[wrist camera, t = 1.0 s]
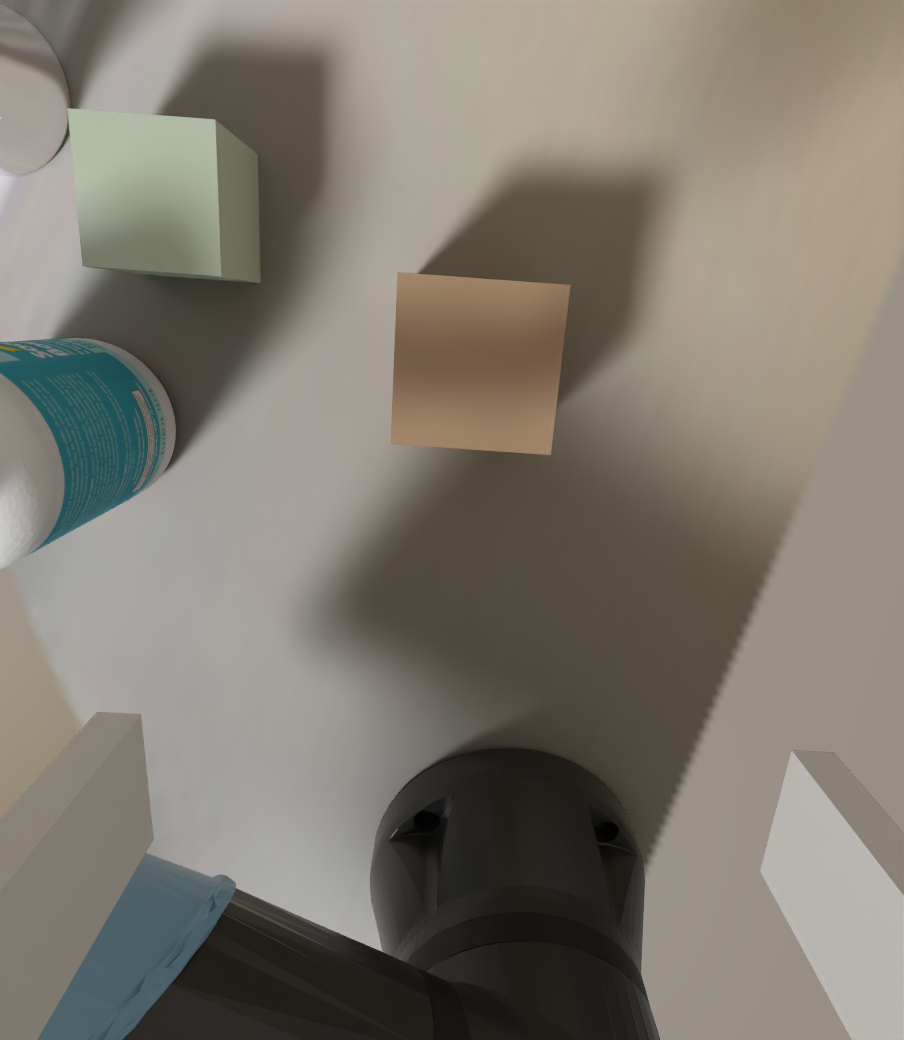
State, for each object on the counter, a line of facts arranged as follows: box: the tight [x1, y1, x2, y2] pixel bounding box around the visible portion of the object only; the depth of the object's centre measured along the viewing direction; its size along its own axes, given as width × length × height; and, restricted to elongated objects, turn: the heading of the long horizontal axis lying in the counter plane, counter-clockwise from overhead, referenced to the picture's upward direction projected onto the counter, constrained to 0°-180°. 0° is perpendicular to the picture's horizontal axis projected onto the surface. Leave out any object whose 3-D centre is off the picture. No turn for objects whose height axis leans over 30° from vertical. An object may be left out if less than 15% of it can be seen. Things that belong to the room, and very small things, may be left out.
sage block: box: [67, 108, 261, 283], centre depth 25 cm, size 5×5×5 cm
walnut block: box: [391, 272, 571, 455], centre depth 26 cm, size 6×6×6 cm
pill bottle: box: [0, 338, 176, 569], centre depth 23 cm, size 8×7×14 cm
